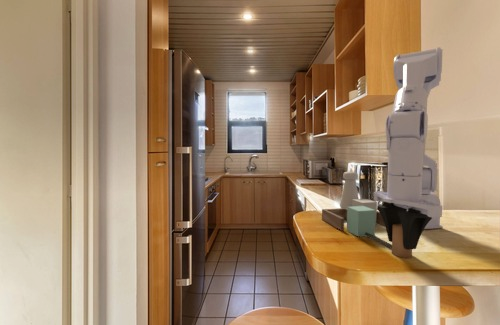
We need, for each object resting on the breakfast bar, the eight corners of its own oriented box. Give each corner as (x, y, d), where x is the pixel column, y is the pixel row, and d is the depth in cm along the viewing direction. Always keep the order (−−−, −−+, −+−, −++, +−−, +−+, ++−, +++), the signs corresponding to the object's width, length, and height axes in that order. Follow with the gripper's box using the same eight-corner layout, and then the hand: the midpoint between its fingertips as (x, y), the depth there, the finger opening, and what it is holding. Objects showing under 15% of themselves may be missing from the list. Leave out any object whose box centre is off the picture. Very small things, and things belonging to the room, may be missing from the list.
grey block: (365, 219, 76) (366, 198, 75) (376, 224, 71) (376, 202, 71) (351, 220, 75) (352, 199, 75) (361, 224, 70) (362, 202, 70)
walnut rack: (365, 217, 78) (365, 207, 78) (389, 227, 68) (390, 215, 68) (321, 219, 75) (322, 209, 75) (340, 230, 66) (341, 218, 65)
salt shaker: (361, 216, 79) (362, 173, 79) (341, 215, 80) (342, 172, 80) (357, 211, 85) (358, 171, 84) (338, 210, 86) (339, 170, 85)
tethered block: (362, 229, 66) (363, 205, 66) (418, 256, 50) (420, 225, 50) (346, 230, 65) (347, 206, 65) (398, 258, 49) (399, 227, 49)
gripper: (362, 171, 57) (360, 233, 57) (418, 180, 42) (414, 262, 43) (390, 171, 58) (388, 231, 59) (454, 179, 44) (450, 258, 45)
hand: (401, 244), depth 51 cm, fingers closed on tethered block, 3 cm apart
